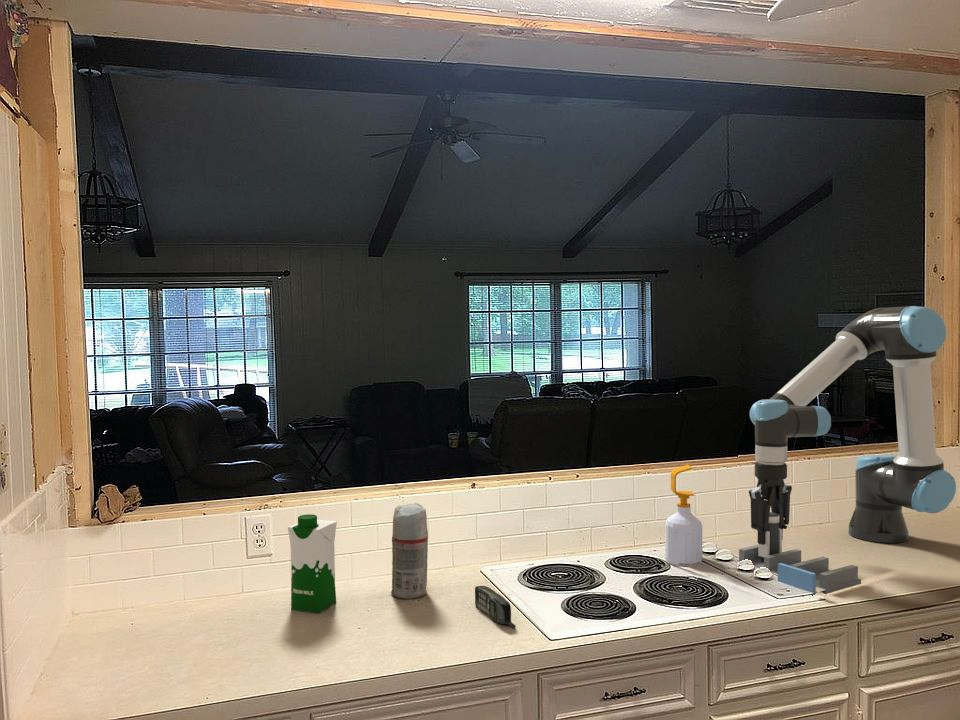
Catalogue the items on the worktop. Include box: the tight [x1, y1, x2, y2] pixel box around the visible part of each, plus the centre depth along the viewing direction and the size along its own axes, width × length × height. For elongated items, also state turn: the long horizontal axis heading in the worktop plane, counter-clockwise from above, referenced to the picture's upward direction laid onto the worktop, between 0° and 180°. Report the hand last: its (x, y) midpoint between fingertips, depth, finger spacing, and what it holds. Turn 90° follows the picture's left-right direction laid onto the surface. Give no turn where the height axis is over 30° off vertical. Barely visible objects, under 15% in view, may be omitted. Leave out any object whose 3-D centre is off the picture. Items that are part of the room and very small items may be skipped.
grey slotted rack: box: [736, 544, 862, 595], centre depth 184 cm, size 13×25×4 cm, turn 31°
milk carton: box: [287, 513, 338, 614], centre depth 164 cm, size 9×9×20 cm
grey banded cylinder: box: [761, 511, 779, 563], centre depth 190 cm, size 4×4×12 cm
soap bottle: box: [664, 464, 703, 568], centre depth 193 cm, size 9×9×25 cm
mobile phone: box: [474, 585, 517, 629], centre depth 158 cm, size 5×3×15 cm
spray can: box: [390, 502, 429, 600], centre depth 172 cm, size 8×8×20 cm
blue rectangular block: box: [777, 563, 817, 597], centre depth 172 cm, size 1×9×5 cm, turn 31°
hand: (770, 555), depth 190 cm, fingers closed on grey banded cylinder, 4 cm apart
